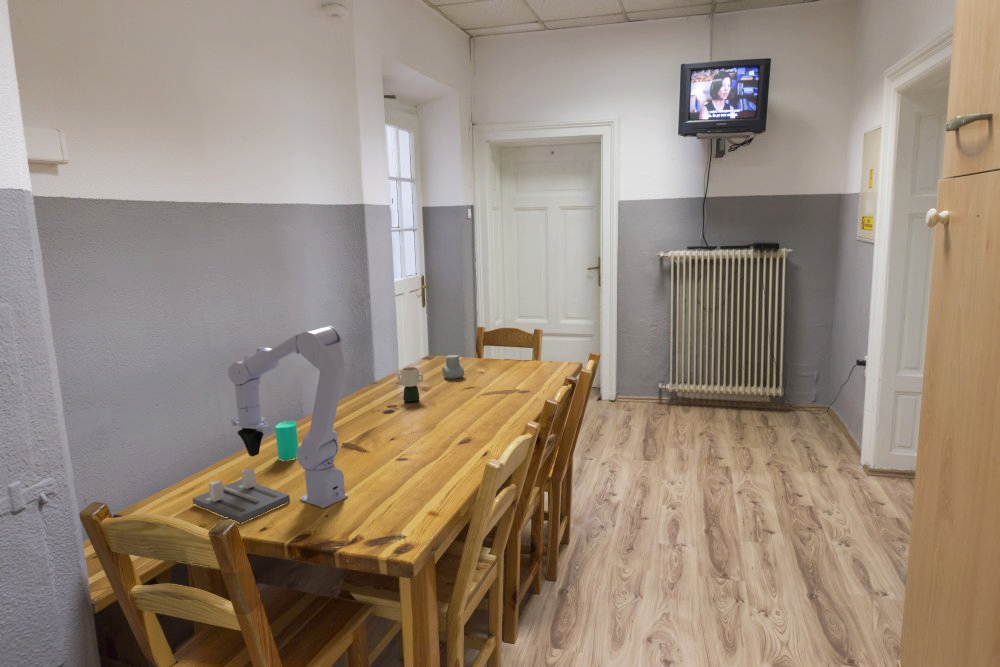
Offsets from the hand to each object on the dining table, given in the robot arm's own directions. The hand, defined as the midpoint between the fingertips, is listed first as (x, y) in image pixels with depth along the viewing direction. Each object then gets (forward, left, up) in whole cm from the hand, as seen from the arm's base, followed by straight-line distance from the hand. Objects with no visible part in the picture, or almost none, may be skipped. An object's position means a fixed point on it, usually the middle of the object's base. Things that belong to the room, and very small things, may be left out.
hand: (254, 455), depth 168 cm
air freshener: (+30, -120, -10) cm, 124 cm away
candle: (+12, -19, -10) cm, 24 cm away
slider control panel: (-5, +8, -9) cm, 13 cm away
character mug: (+21, -83, -10) cm, 86 cm away
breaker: (-2, +4, -7) cm, 8 cm away
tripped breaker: (-2, +12, -7) cm, 14 cm away
